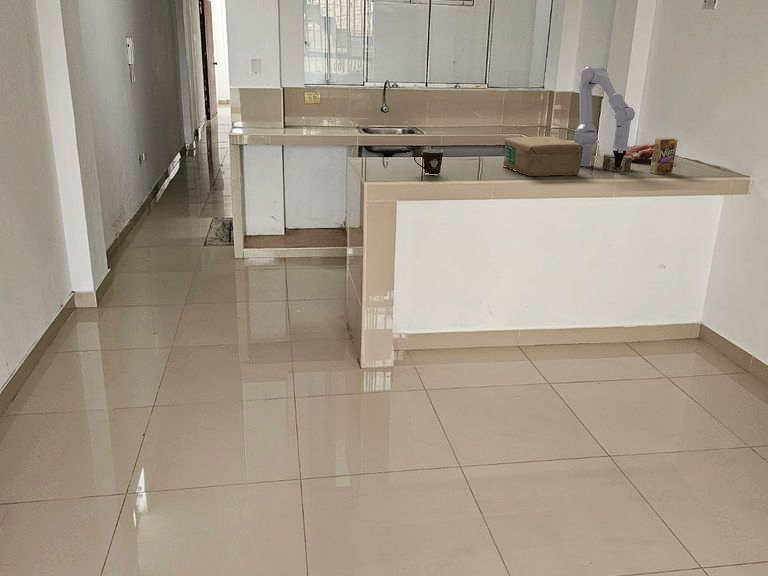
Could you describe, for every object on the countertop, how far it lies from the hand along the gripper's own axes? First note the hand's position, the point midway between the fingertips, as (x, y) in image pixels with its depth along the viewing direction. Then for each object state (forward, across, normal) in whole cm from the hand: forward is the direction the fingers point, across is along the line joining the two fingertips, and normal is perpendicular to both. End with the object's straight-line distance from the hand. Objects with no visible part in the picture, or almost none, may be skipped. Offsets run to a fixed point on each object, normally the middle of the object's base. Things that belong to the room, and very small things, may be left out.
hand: (617, 166), depth 300 cm
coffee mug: (+3, -37, +78) cm, 86 cm away
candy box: (+3, +5, -19) cm, 20 cm away
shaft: (+2, +6, 0) cm, 7 cm away
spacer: (+2, +4, 0) cm, 5 cm away
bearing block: (+2, +8, 0) cm, 9 cm away
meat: (+3, +37, -14) cm, 40 cm away
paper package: (+3, -10, +33) cm, 35 cm away
